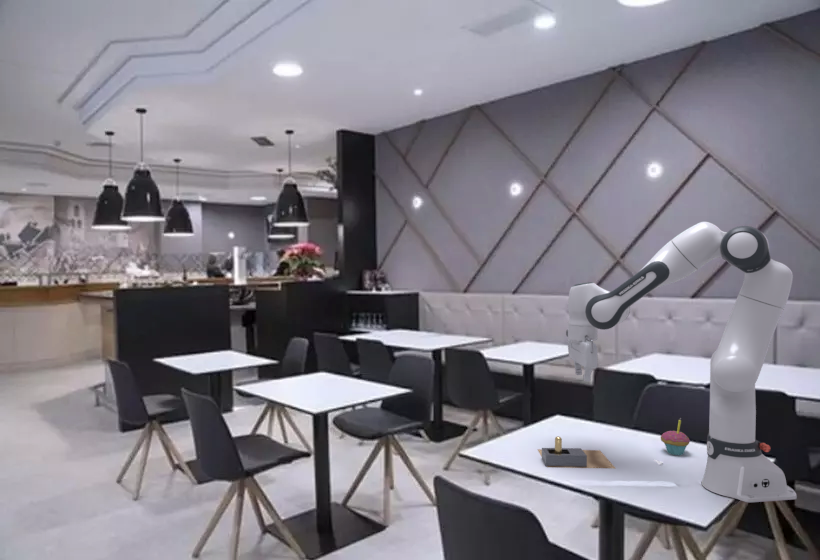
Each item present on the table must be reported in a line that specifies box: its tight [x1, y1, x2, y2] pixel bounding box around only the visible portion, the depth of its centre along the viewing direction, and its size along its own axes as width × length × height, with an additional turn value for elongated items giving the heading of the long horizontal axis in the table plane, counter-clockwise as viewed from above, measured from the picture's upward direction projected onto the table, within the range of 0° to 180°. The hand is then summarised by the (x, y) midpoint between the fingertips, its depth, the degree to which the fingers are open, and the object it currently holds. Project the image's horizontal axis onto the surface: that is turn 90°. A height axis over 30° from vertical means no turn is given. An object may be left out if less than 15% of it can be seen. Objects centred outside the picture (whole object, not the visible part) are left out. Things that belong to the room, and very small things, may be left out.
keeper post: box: [554, 436, 563, 454], centre depth 173 cm, size 2×2×8 cm
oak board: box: [537, 448, 617, 469], centre depth 177 cm, size 20×16×2 cm
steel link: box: [541, 447, 587, 468], centre depth 173 cm, size 12×7×3 cm, turn 88°
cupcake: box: [660, 417, 691, 456], centre depth 186 cm, size 9×8×12 cm
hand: (582, 377), depth 180 cm, fingers open, 8 cm apart
